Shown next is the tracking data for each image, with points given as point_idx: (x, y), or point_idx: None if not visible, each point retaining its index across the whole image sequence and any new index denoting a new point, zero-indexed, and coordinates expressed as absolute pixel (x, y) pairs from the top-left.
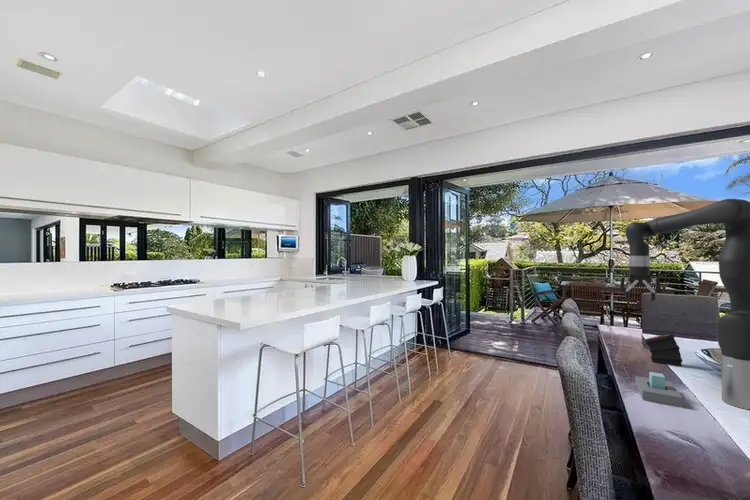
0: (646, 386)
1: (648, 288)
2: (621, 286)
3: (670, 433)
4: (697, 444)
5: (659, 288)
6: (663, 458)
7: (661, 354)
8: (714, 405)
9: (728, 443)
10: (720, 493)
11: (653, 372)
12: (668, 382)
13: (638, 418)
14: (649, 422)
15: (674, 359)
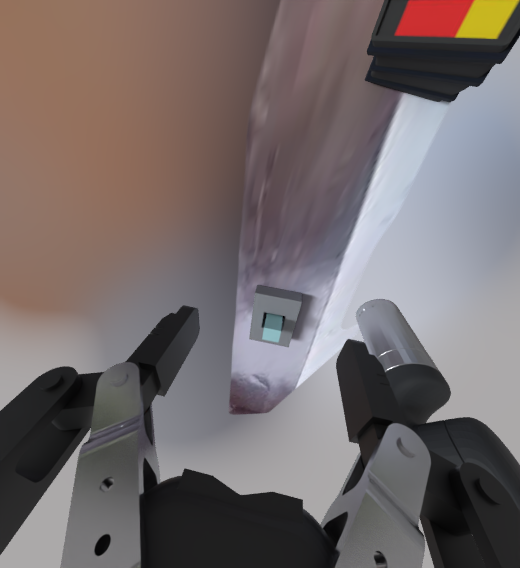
0: (258, 326)
1: (333, 507)
2: (44, 450)
3: (254, 377)
4: (267, 385)
5: (459, 554)
6: (239, 398)
7: (403, 77)
8: (333, 325)
9: (292, 382)
10: (256, 413)
11: (269, 328)
12: (296, 305)
13: (236, 363)
14: (244, 367)
15: (432, 95)
